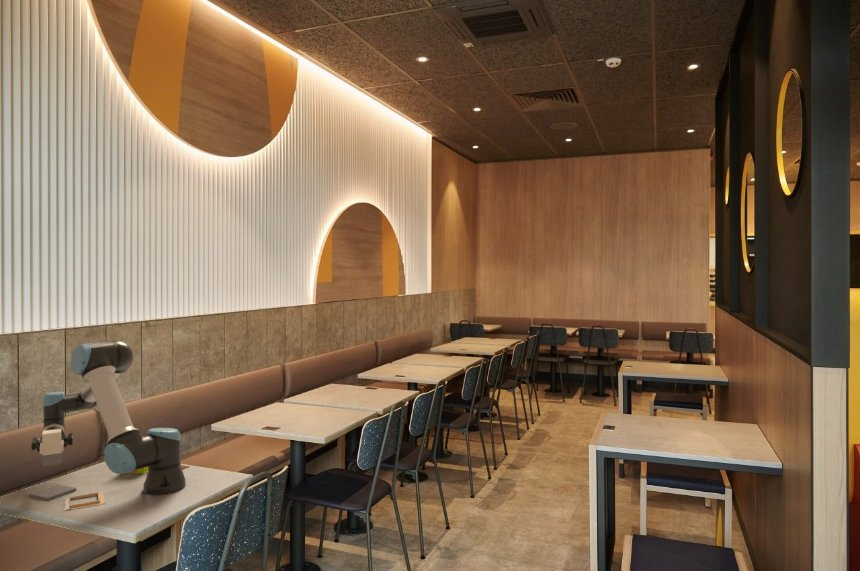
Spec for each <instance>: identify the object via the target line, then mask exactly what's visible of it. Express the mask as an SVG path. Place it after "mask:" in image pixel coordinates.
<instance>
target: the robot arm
mask: <svg viewBox="0 0 860 571" xmlns="http://www.w3.org/2000/svg"><path fill="white" fill-rule="evenodd" d="M134 355H135V354H134V352H133V349H132V347H130V345H128V344H127V343H125V342H123V341H120V340H111V341H109V340H108V341H99V342H87V343H81V344H77V346H75V347H74V348H73V350H72V352H71V355H70V356H71V357H70V368H71V369H70V370H71V371H72V373H73V374H74V375H76V376H81V378H82V380H83V382H84V383H86V385H85V386H84V387H82V388H83V389H82V390H80V392H79V393H78V392H77V393H71V394H65V393H64V392H63V391H51V392H46V393H45V394H43V398H42V399H43V400H42V410H43V414H42V415H43V419H42V420H43V430H42V432H43V431H46V430H54V429H61V439H62V440H61V451H62V452H64V448H67V447H68V445H69V446H73V442H74V440H73V439H74V438H73V433H72V432H71V433H67V434H65V430H66V425H65V419H66V418H65V416H66V415H65V414H67V413H68V414H69V413H72V412H73V413H74V412H79V411H84V410H91V409H94V408H98V410H99V413H100V416H101V418H102V421H103V424H104V426H105V427H104V428H105V429H106V432H107V434H108V439H107V441H106V446H105V448H104V450H103V455H104V456H103V457H104V462H105V464H106V466H107V468H108V470H110V471H111V472H112V473H114V474H117V475H123V474H127V473H130V472H133V471H135V470H138V469H141V468H145V467H148V472H146V477H145V481H144V483H143V485H142V486H143V488H142V489H143V493H145V494H147V495H163V494H164V495H165V494H170V493H175V492H177V491H180V490H183V489H184V488H185V487H186V486H187V483H186V482H187V481H186V480H187V479H186V477H185V474H184V472H183V468H182V466H181V461H182V460H181V458H182V457H181V441H182V439H181V432H180V430H178V429H177V428H171V427H154V428H153V427H152V428H150V429H148V430H147V434H146V435H142V433H141V430H140V429H139V428H136V427H134V424H133V421H132V420H131V417H130V414H129V412H128V409H127V406H126V404H125V401H124V399H123V396H122V393H121V391H120V388H119V386H118V384H117V381H116V379H117V378H118V377H119V376H120V375H121V374H124V373H126V372H127V371H128V370H129V368H131V366H132V365H133V362H134V358H135V357H134ZM30 444H31V451H35V450H36V451H37V452H38V453H39V455H43V454H42V453H43V452H42V436H41V437H40V438H39V437H32V442H31V443H30Z"/></svg>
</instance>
